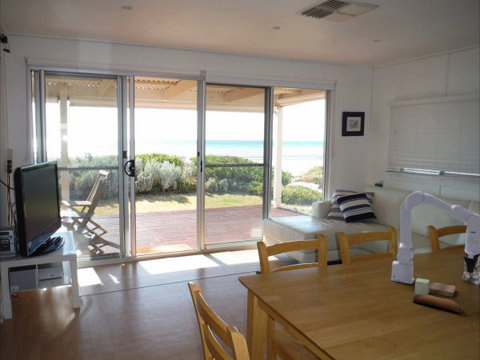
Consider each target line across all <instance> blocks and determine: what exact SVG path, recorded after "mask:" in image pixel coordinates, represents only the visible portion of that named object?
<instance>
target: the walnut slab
mask: <svg viewBox="0 0 480 360" xmlns="http://www.w3.org/2000/svg"><path fill="white" fill-rule="evenodd" d="M429 293H430V294H435V295H439V296H446V297H450V298H453V297H454V295H455V293H456V286H455V285H451V284H445V283H440V282H434V281H431V282H429Z"/></svg>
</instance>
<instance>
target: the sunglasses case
mask: <svg viewBox="0 0 480 360" xmlns="http://www.w3.org/2000/svg"><path fill="white" fill-rule="evenodd" d="M412 303H416V304H417V303H418V304H421V305H428V306H431V307H435V308H440V309H444V310H447V311H451V312H454V313H458V314H459V315H461V314H462V312H463V311H464V307H462V306H461V305H460V304H459V303H457V302H455V301H453V300H451V299H448V298H442V297H438V296H434V295H431V294H428V295H426V294H417V295H416V294H414V296H413V299H412Z"/></svg>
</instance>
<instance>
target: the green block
mask: <svg viewBox="0 0 480 360" xmlns="http://www.w3.org/2000/svg"><path fill="white" fill-rule="evenodd" d="M414 281H415V285H414V295H417V294H426V295H430V294H429V285H430V279H425V278H420V277H417V278H416V279H415V280H414Z"/></svg>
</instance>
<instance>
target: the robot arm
mask: <svg viewBox="0 0 480 360" xmlns="http://www.w3.org/2000/svg"><path fill="white" fill-rule="evenodd" d="M421 204H423V205H432V206H435V207H437V208H440V209H441V210H444V211H446V212H448V214H449V216H450V217H452V218H453V219H456V220H458V221H460V222H462V223H466V230H465V244H464V245H465V246H464V252H465V255H464V256H463V260H464V262H465V265H466V272H467V274H468V273H469V274H473V273H474V272H475V268H476V266H477V262H478V260H479V257H480V214H479V213H477V212H474V211H473V210H469V209H466V208H464V207H463V205H461V204H453V205H452V204H450V203H449V202H446V201H444V200H442V199H440V198H439V197H437V196H434V195H432V194H431V193H428V192H424V191H422V190H419V189H418V190H415V191H412V192H411V193H410V194H408V195H407V196H406V197H405V199H404V200H403V201H402V203H401V205H400V206H399V234H400V235H399V240H400V242H399V247H398V253H396V259H397V260H393V261H392V264H391V278H390V280H391V281H392V282H393V281H394V282H399V283H405V284H409V285H410V284H413V283H414V281H416V279H415V278H414V261H413V258H414V257H415V251H414V249H413V244H412V210H413V209H415V208H416V207H418V206H420V205H421Z"/></svg>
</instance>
